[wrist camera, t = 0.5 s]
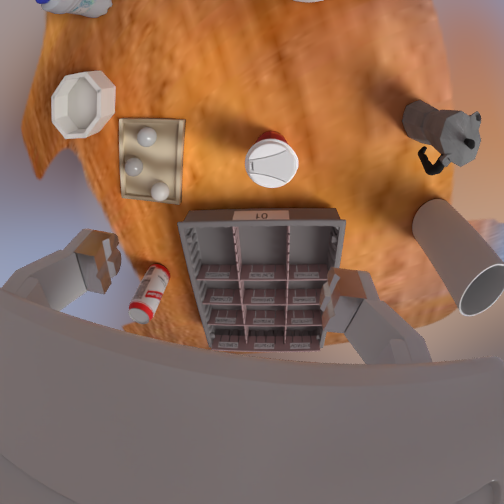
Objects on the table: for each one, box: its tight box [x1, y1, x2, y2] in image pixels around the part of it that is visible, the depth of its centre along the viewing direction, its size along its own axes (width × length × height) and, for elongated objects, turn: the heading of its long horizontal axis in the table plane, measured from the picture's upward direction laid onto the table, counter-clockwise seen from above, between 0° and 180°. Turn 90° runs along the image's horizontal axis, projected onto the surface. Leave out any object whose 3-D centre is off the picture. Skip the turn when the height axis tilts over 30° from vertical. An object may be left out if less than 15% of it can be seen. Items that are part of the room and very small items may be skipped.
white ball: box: [151, 182, 170, 201], centre depth 53 cm, size 4×4×4 cm
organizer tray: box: [177, 208, 346, 352], centre depth 64 cm, size 32×40×10 cm
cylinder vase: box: [412, 199, 504, 316], centre depth 45 cm, size 12×12×25 cm
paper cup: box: [245, 131, 298, 188], centre depth 43 cm, size 8×8×14 cm
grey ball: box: [124, 157, 143, 177], centre depth 50 cm, size 4×4×4 cm
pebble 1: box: [137, 127, 157, 147], centre depth 47 cm, size 4×4×4 cm
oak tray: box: [119, 118, 186, 205], centre depth 51 cm, size 18×14×2 cm
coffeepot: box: [402, 100, 481, 175], centre depth 36 cm, size 15×9×18 cm, turn 147°
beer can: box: [129, 264, 170, 324], centre depth 63 cm, size 6×6×16 cm
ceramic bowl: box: [51, 71, 116, 139], centre depth 42 cm, size 14×14×6 cm
